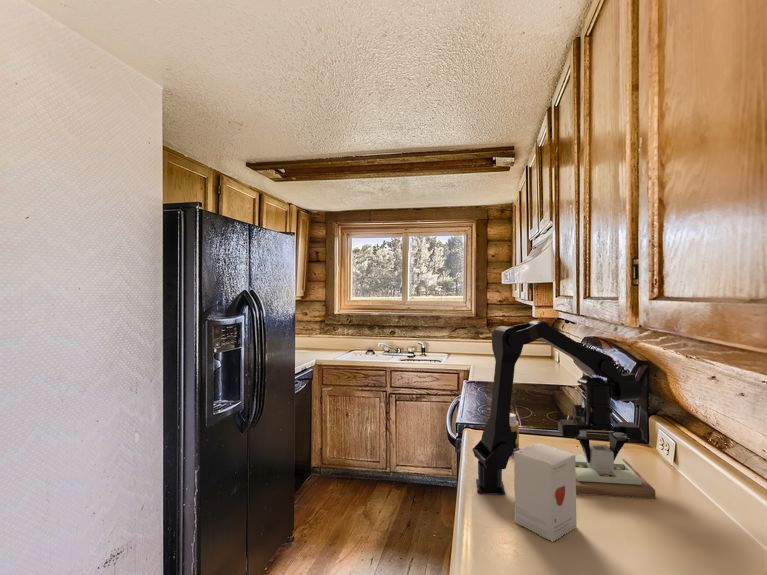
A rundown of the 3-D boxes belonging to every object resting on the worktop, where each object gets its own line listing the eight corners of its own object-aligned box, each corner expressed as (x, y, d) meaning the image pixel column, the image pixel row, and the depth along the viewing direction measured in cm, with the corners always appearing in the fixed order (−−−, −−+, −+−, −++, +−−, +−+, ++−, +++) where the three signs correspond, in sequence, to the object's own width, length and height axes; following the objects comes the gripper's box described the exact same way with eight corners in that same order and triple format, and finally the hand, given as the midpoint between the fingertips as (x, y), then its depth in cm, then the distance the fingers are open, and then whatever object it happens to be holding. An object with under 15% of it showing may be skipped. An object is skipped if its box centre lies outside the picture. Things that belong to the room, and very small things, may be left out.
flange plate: (618, 461, 111) (618, 439, 111) (641, 484, 98) (641, 460, 98) (563, 458, 114) (563, 437, 114) (578, 480, 100) (577, 457, 100)
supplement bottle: (501, 450, 126) (500, 417, 126) (499, 444, 131) (498, 411, 131) (520, 451, 125) (520, 417, 125) (517, 444, 130) (516, 412, 130)
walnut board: (655, 498, 95) (654, 468, 95) (572, 493, 98) (571, 463, 98) (624, 466, 113) (623, 440, 113) (554, 462, 116) (554, 437, 116)
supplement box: (553, 544, 79) (551, 465, 79) (513, 523, 86) (512, 451, 86) (578, 527, 84) (576, 453, 84) (539, 509, 92) (537, 441, 92)
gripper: (625, 395, 112) (626, 452, 112) (552, 393, 116) (553, 449, 115) (643, 406, 101) (645, 470, 101) (562, 403, 105) (563, 465, 104)
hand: (599, 462), depth 106 cm, fingers closed on flange plate, 5 cm apart
